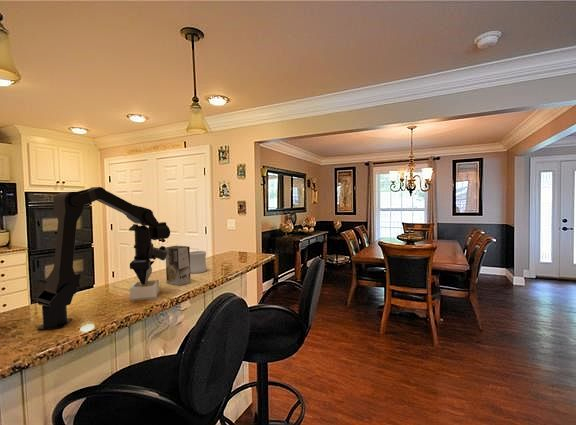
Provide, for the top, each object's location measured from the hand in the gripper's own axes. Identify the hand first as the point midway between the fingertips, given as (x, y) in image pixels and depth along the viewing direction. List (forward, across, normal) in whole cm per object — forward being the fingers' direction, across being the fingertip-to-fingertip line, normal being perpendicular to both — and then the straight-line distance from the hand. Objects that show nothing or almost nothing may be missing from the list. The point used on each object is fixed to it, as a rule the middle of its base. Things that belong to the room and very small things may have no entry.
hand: (144, 282), depth 115 cm
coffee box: (+6, +16, -11) cm, 20 cm away
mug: (+6, +35, -18) cm, 39 cm away
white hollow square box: (+5, 0, 0) cm, 5 cm away
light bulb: (+3, 0, 0) cm, 3 cm away
